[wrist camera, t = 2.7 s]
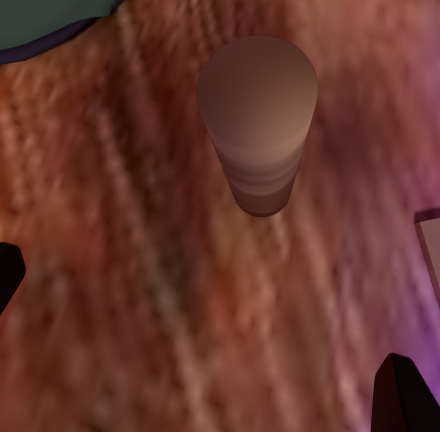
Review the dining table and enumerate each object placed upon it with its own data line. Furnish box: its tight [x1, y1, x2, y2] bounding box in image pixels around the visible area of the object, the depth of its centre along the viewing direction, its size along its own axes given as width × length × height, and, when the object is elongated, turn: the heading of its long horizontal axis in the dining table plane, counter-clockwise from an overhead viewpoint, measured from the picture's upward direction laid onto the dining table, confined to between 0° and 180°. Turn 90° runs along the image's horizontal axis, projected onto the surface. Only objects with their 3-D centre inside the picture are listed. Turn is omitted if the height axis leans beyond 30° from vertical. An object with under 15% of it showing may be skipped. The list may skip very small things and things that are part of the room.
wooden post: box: [197, 35, 318, 217], centre depth 17 cm, size 4×4×12 cm
